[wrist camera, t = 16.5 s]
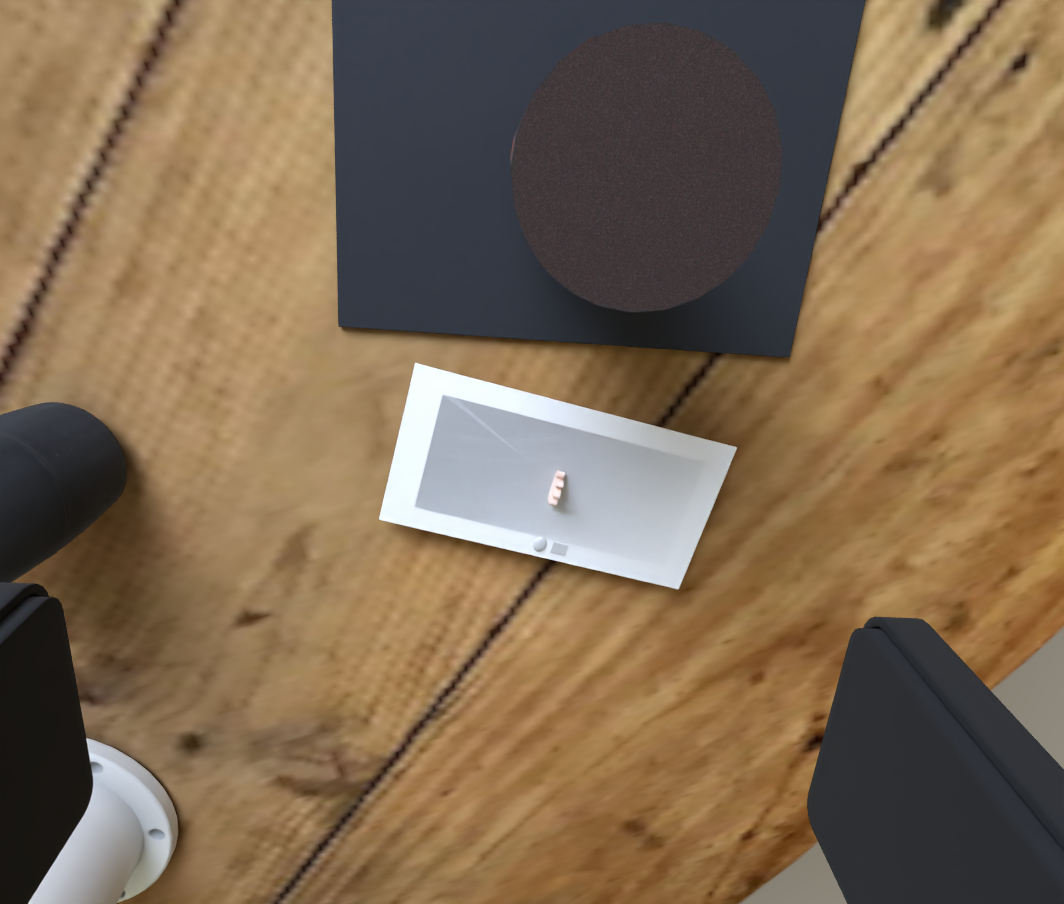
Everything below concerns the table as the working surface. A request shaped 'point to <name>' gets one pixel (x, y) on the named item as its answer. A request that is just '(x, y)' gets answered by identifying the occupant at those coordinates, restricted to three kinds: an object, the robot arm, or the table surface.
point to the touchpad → (551, 478)
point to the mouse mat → (485, 168)
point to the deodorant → (646, 167)
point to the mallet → (52, 481)
